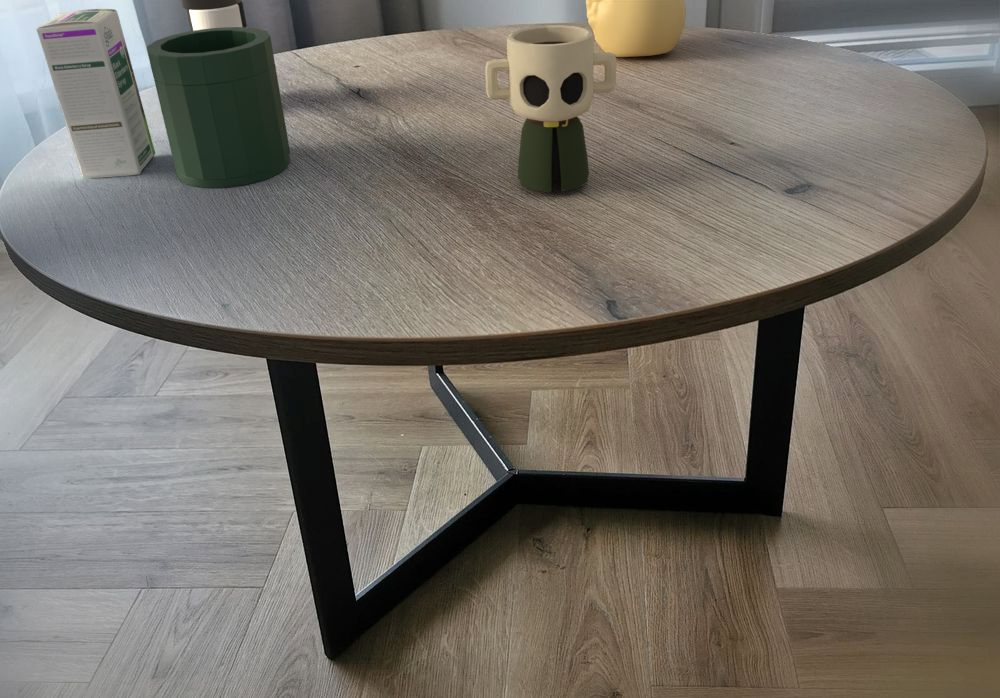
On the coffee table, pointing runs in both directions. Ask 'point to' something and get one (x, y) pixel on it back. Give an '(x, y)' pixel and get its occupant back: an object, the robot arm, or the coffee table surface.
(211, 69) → the jar
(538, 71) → the character mug
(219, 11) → the medicine bottle
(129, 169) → the syrup box
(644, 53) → the sculpture
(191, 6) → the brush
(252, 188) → the coffee table surface
